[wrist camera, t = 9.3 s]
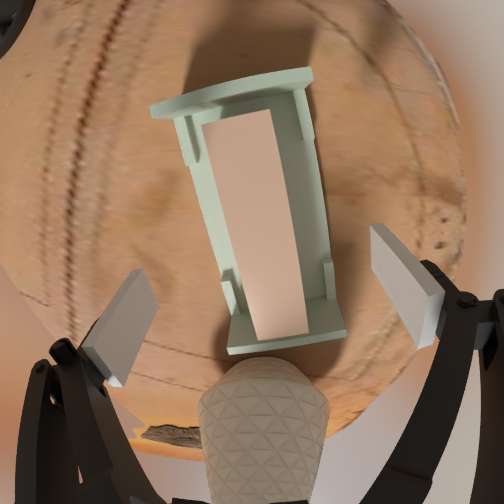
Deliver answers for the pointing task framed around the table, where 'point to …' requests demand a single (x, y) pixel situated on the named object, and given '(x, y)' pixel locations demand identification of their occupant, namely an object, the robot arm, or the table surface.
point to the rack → (297, 185)
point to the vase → (262, 433)
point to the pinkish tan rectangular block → (258, 221)
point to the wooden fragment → (175, 436)
